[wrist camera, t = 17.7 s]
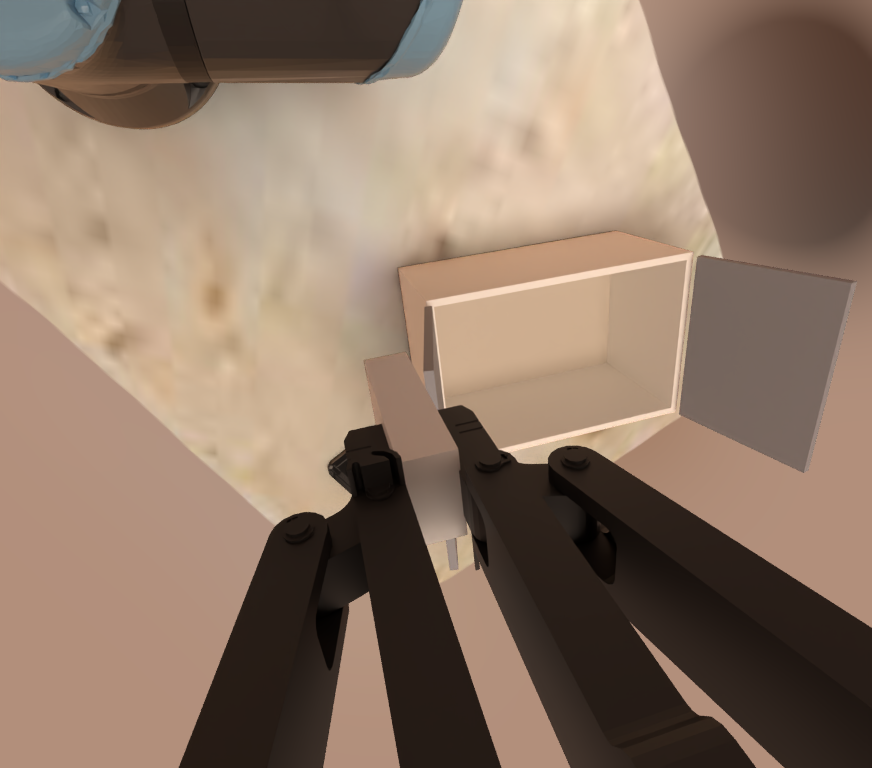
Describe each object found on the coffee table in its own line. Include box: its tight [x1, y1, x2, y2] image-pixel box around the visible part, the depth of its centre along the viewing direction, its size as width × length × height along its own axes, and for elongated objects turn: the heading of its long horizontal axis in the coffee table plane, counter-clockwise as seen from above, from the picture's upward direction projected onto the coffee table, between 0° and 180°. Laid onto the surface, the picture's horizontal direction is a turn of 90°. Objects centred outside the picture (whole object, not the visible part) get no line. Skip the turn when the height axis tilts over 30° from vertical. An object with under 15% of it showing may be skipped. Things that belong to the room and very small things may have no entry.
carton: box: [398, 231, 694, 452], centre depth 52 cm, size 16×24×12 cm, turn 97°
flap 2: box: [679, 255, 857, 473], centre depth 43 cm, size 16×12×1 cm
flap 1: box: [423, 306, 458, 570], centre depth 38 cm, size 16×12×1 cm
